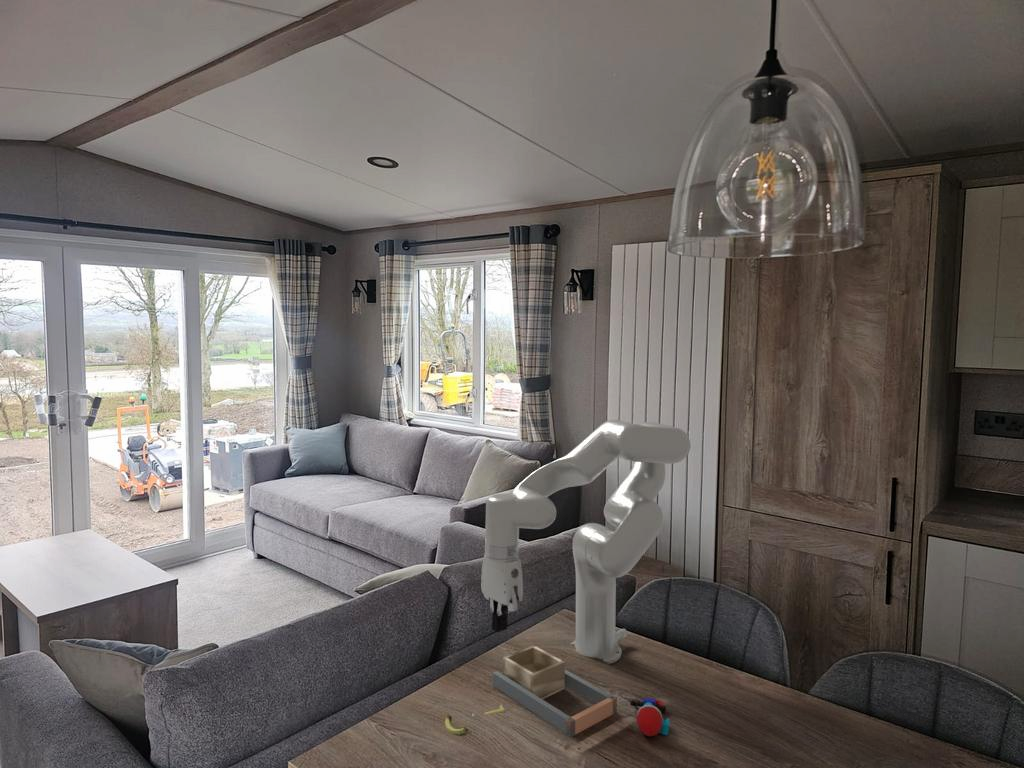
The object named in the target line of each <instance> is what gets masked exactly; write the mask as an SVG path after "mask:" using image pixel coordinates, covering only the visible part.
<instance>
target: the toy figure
mask: <svg viewBox="0 0 1024 768" xmlns="http://www.w3.org/2000/svg"><path fill="white" fill-rule="evenodd" d="M629 705H630V706H632V707H634V708H635V709H636V710H637V712H636V723H637V727H638V728H639V730H640V732H641V733H642V734H643V735H645V736H647V737H654V736H656V735H658V734H659V733H660V734H661V735H665V736H668V735H669V729H670V719H669V718H668V717H667V718H666V719H665V720H664V718H663V714H662V712H663V713H665V712H666V711H667V707H666V705H664V702H662V701H660V700H656V699H655V698H650V697H648V698H647V697H643V701H640V700H634V699H631V700H630V702H629Z"/></svg>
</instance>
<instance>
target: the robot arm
mask: <svg viewBox="0 0 1024 768" xmlns="http://www.w3.org/2000/svg"><path fill="white" fill-rule="evenodd" d="M690 451H691V440H690V436H689V435H688V434H687V433H686V432H685V430H683V429H681V428H679V427H676V426H671V425H667V424H663V423H658V422H653V421H652V422H651V421H646V422H642V423H639V424H637V423H633V422H628V421H624V420H619V419H608V420H607V421H604V422H603V423H601V424H600V425H599V426H597V427H596V428H595V430H593V431H592V432H591V433H590V434H589V435H588V436H587V437H585V438H584V439H583V440H582V441H581V442H580V443H579V444H578V445H576V446H575V447H574V448H573V449H571V451H569V452H568V453H567V454H566V455H564V456H562V457H560V458H557V459H555V460H554V461H552V462H549V463H547V464H545V465H543V466H541V467H539V468H537V469H536V470H535V471H533V472H532V473H530V474H529V475H528V476H526V477H525V478H524V479H523V480H522V481H521V482H520V483H519V484H518V485H517V486H515V487H514V489H513V490H512V491H511V493H510V494H507V493H498V494H497V493H496V494H492V495H490V496H488V497H487V499H486V502H485V527H484V528H485V532H484V536H485V537H484V538H485V539H484V555H483V560H482V564H481V565H482V566H481V567H482V568H481V577H480V586H481V588H480V589H481V593H482V594H483V596H484V597H483V598H485V599H486V600H488V603H489V607H490V612H491V630H492V631H494V632H496V633H499V632H503V631H505V630H507V629H508V618H509V617H508V614H509V613H510V612H516V611H518V603H517V602H522V601H523V598H524V597H523V596H524V586H523V585H524V583H523V582H524V581H523V569H522V563H521V559H520V558H519V555H520V552H519V543H520V542H519V538H520V529H528V530H529V529H532V530H541V529H545V528H547V527H549V526H551V525H552V524H553V523H554V522H555V520H556V517H557V508H556V505H555V504H554V502H553V500H551V499H550V498H549V496H551V495H552V494H555V493H556V492H558V491H560V490H563V489H567V488H570V487H571V488H573V487H580V486H584V485H588V484H591V483H592V482H593V481H594V480H596V479H597V478H598V477H599V476H600V475H601V474H602V473H603V472H604V471H605V470H606V469H608V468H609V466H611V465H612V464H613V463H614V462H616V461H617V460H618V459H619V458H620V459H624V460H626V461H629V462H633V463H632V464H633V465H632V467H631V470H630V471H629V473H628V474H627V475H626V476H625V478H624V479H623V480H622V482H621V483H620V484H619V485H618V487H617V488H616V490H615V491H614V492H613V493H612V494H611V496H610V497H609V498H608V500H606V503H605V504H604V508H603V515H604V518H605V520H606V522H608V523H609V525H612V526H613V527H614V528H615V530H612V529H611V528H608V527H607V526H604V525H603V524H600V523H595V522H588V523H585V524H583V525H581V526H580V527H578V529H577V530H576V532H575V533H574V535H573V539H572V554H573V561H574V567H575V568H574V569H575V639H574V640H573V641H572V642H571V643H570V645H572V646H574V647H575V650H576V652H577V653H578V654H580V655H582V656H584V657H587V658H592V659H599V660H601V661H603V662H605V663H607V664H609V665H611V664H614V663H616V662H617V661H619V659H621V657H622V648H621V646H620V645H619V644H618V642H619V641H620V639H623V638H625V637H627V636H628V631H627V629H626V628H621V629H619V630H617V631H616V602H617V601H616V598H617V597H616V593H617V591H616V590H617V589H616V588H617V582H616V578H621V577H623V576H625V575H627V574H628V573H630V571H632V569H633V568H634V567H635V566H636V564H637V563H638V562H639V560H640V559H641V558H642V557H643V555H644V554H645V552H647V550H648V549H649V548H650V546H651V545H652V544H653V543H654V541H655V540H656V539H657V537H658V535H659V533H660V532H661V530H662V526H663V522H664V513H663V510H662V507H661V506H660V505H659V504H658V503H657V502H656V501H655V499H656V497H657V496H658V494H659V493H660V491H661V490H662V488H663V486H664V483H665V480H666V464H669V465H671V464H677V463H680V462H682V461H683V460H684V459H686V458H687V456H688V455H689V453H690Z"/></svg>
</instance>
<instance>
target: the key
mask: <svg viewBox="0 0 1024 768" xmlns="http://www.w3.org/2000/svg"><path fill="white" fill-rule="evenodd" d="M498 706H499V709H495V710H490V711H487V712H484V713H483V714H484V715H491V714H501V713H505V712H506V711H505V708H504V707H503V705H502V704H501V705H498ZM471 716H472V717H473V718H474V717H476V715H475V714H474V713H472V714H471ZM445 717H446V718H445V720H444V721H445V722H444V725H445V728H446V730H447V731H449V733H451V734H453V735H464V734H466V733H468V731H469V729H468V728H467V727H466V726H463V727H462V728H454V727H453V726H452V725H451V719H452V715H450V714H446V716H445Z"/></svg>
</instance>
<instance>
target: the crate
mask: <svg viewBox="0 0 1024 768" xmlns="http://www.w3.org/2000/svg"><path fill="white" fill-rule="evenodd" d="M565 666H566V662H565V661H563V660H562V659H560V658H559V657H556V656H554V655H553V654H551V653H549V652H547V651H545V650H543V649H541V648H540V647H539V646H537V645H530V646H528V647H525V648H524V649H521V650H518V651H515V652H513V653H511V654H508V655H506V656H504V657H502V674H503V675H504V676H506V677H508V678H509V679H511V680H512V681H514V682H516V683H517V684H519V685H520V686H522V687H524V688H525V689H527V690H528V691H530V692H531V693H533V694H535V695H536V696H538V697H539V698H541V699H543V700H544V699H546V698H549V697H551V696H552V695H555V694H556V693H558V692H561V691H563V690H565V688H566V687H565V670H566V667H565Z"/></svg>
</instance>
